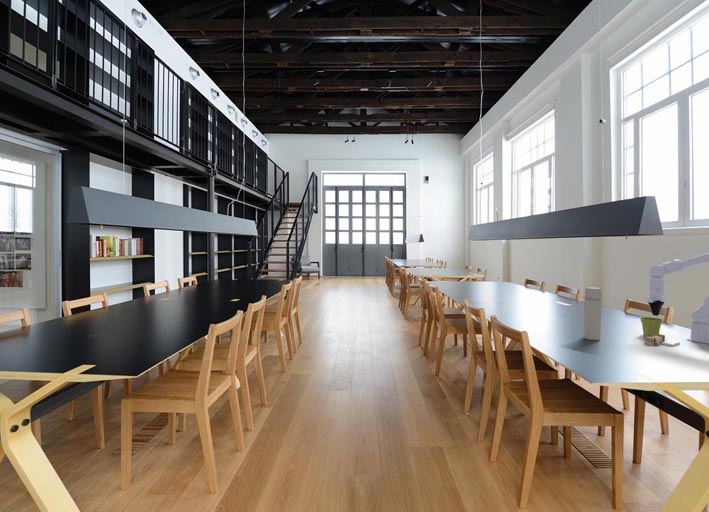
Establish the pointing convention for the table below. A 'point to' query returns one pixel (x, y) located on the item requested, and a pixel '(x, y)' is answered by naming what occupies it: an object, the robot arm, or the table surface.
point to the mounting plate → (670, 343)
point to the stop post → (657, 341)
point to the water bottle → (592, 313)
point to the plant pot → (651, 326)
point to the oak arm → (652, 339)
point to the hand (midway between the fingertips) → (655, 315)
